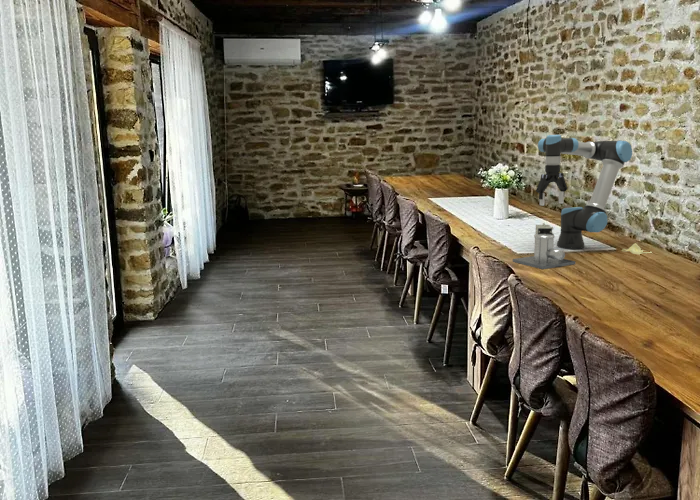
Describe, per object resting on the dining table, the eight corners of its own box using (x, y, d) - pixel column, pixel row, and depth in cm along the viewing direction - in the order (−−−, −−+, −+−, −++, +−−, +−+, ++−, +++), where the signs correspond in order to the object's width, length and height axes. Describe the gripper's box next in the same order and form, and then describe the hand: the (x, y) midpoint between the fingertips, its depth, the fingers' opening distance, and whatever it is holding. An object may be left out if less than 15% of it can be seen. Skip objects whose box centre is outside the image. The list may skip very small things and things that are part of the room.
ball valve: (554, 258, 325) (555, 225, 322) (537, 258, 327) (538, 225, 324) (550, 252, 343) (551, 221, 339) (534, 252, 344) (535, 221, 341)
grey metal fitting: (529, 259, 318) (530, 235, 315) (543, 257, 322) (544, 233, 320) (553, 265, 303) (554, 239, 300) (568, 262, 307) (569, 237, 305)
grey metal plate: (544, 257, 330) (544, 239, 328) (575, 264, 311) (576, 245, 309) (512, 261, 321) (512, 244, 319) (542, 269, 301) (543, 250, 299)
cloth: (607, 252, 352) (608, 241, 351) (634, 249, 357) (635, 239, 356) (635, 259, 331) (636, 248, 329) (663, 256, 336) (664, 245, 334)
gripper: (564, 163, 330) (563, 202, 334) (529, 165, 319) (528, 205, 323) (575, 163, 323) (573, 203, 327) (540, 165, 313) (538, 206, 316)
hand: (551, 204), depth 325 cm, fingers open, 13 cm apart
